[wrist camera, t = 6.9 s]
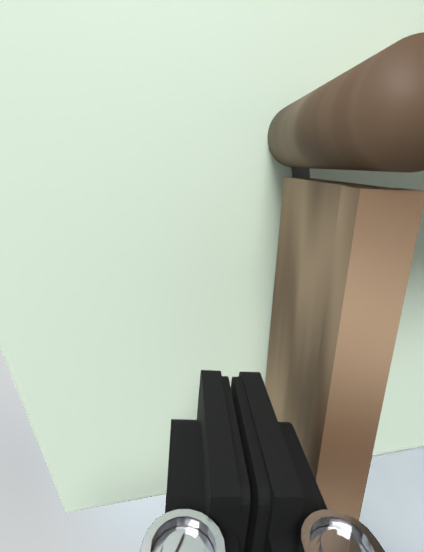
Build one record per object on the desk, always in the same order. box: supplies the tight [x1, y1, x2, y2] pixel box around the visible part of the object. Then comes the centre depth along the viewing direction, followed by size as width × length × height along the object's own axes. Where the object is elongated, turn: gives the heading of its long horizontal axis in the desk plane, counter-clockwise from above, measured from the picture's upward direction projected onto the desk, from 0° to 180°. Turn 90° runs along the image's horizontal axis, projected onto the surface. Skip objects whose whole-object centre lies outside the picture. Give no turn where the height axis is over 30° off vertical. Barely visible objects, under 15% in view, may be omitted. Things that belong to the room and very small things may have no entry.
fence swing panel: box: [265, 177, 424, 521], centre depth 10 cm, size 12×2×8 cm, turn 178°
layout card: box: [0, 0, 424, 512], centre depth 13 cm, size 23×20×1 cm
